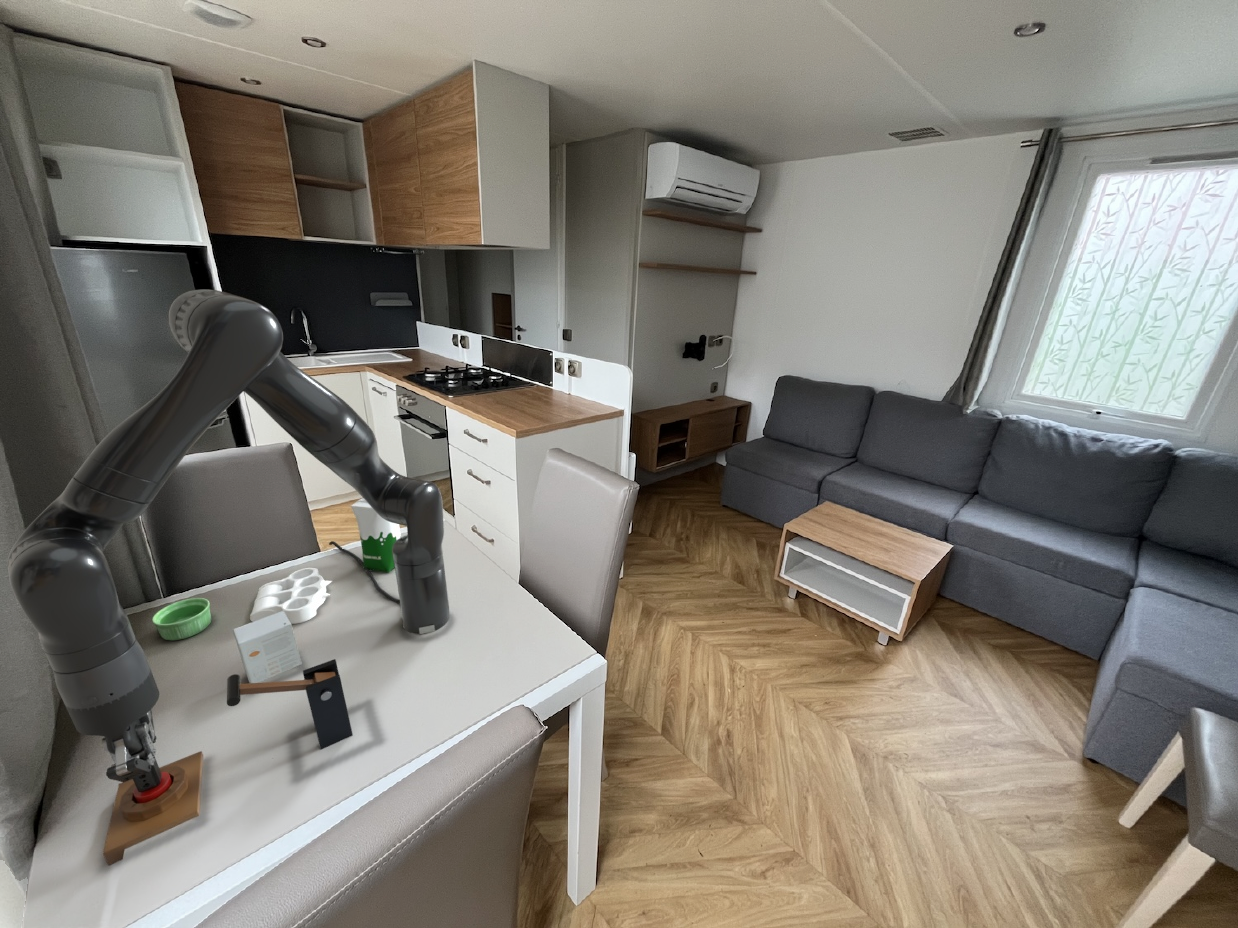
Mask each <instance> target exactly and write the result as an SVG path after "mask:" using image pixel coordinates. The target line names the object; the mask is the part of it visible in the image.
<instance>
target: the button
mask: <svg viewBox="0 0 1238 928" xmlns="http://www.w3.org/2000/svg"><path fill="white" fill-rule="evenodd" d="M161 774H162V776H161V782H160V785H158V786H157V787H154V788H152V789H150V790H147V791H145V792H138V790H137V788H135V790H134V796H135V799H136V801H137V803H147V802H149V801H151V800H154V799H156V798H158V797H159V796H160V795H162V794H163V793H165V792H166V791H167V790H168V789H169V787H170V786H171V785H172V784H173V783H172V780H171V778H170V775H169V774H168V773H167V772H161Z"/></svg>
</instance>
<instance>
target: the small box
mask: <svg viewBox="0 0 1238 928" xmlns="http://www.w3.org/2000/svg"><path fill="white" fill-rule="evenodd" d="M232 631H233V635H234V639H235V642H236V646H237V649H238V652H239V655H240V658H241V661H242V665H243V669H244V672H245V674H246V677H247V680H248V682H249V683H263V682H264V681H267V680H269V679H270V678H273V677H275V676H278V675H280V674H282V673H284V672H287V671H290V670H292V669H294V668H296V667H298V666H301V665H303V662H302V659H301V655H300V652H299V648H298V644H297V640H296V636H295V632H294V628H293V624H291V623H290V621H289V619H288V618H287V616H286V614H285V612H284V611H281V612H278V613H276V614H273V615H270V616H267V617H265V618H262V619H259V620H257V621H254V622H252V621H251V622H249V623H246V624H244V625H241V626H238V627H235V628H233V629H232Z"/></svg>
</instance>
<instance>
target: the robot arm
mask: <svg viewBox="0 0 1238 928" xmlns="http://www.w3.org/2000/svg"><path fill="white" fill-rule="evenodd" d="M168 325H169V329H170V332H171V334H172V336H173V337H174V340H175V341H176V342H177V343H178V344H179V346H180V347H181V348H182V349H183V350H184V351H185V352H186V353H187V355H186V356H185V359H184V360H183V362H182V365H181V366H180V368H179V369H178V370H177V372H176V374H174V376H173V377H172V378H171V379H170V381H169V382H168V383H167V384H166V385H165V386H164V387H163V388H162V389H161V390H160V391H159V392H158V393H156V395H155V396H154V397H153V398H151V399H150V400H149V401H147V402H146V403H145V404H144V405H142V406H141V407H140V408H139V409H137V410H136V411H135V412H133V413H132V414H130V415H129V416H128V417H126V418H125V419H124V420H122V421H121V422H120V423H119V424H117V425H116V426H115V427H114V428H113V429H112V430H110V431H109V432H108V434H106V435H105V436H104V437H103V439H101V441H100V442H99V443H98V444H97V445H96V447H94V449H93V450H92V452H91V453H90V454H89V455H88V456H87V457H86V459H85V460H84V462H83V464H81V466H80V467H79V469H78V470H77V471H76V472H75V474H74V475H73V476H72V477H71V479H70V481H69V482H68V484H67V485H66V487H65V488H64V490H63V492H62V493H61V494H60V495H59V496H58V497H57V498H56V499H55V500H53V501H52V502H51V503H50V504H49V505H48V506H47V507H46V508H45V509H43V510H42V512H41V513H40V514H39V515H38V516H37V517H36V518H35V519H33V520H32V522H31V523H30V524H29V525H28V526H27V527H26V528H25V529H24V531H23V532H22V533H21V534H20V536H19V537H18V538H17V540H16V541H15V542H14V544H13V545H12V547H11V549H10V551H9V553H8V556H7V560H6V561H7V572H8V579H9V580H8V581H9V584H10V585H9V586H10V587H11V590H12V592H13V595H14V596H15V599H16V601H17V602H18V604H19V606H20V608H21V609H22V611H23V613H24V614H25V616H26V617H27V619H28V621H29V622H30V624H31V625H32V626H33V628H34V629H35V630H36V632H37V633H38V638H39V642H40V645H41V648H42V650H43V653H44V654H45V656H46V659H47V661H48V663H49V665H50V668H51V669H52V672H53V676H54V681H55V687H56V688H57V691H58V693H59V696H60V697H61V698H60V699H61V700H62V702H63V704H64V706H65V708H66V710H67V713H68V714H69V717H70V719H71V721H72V723H73V725H74V727H75V730H76V731H77V733H79V734H81V735H83V736H98V737H101V745H102V748H103V749H104V751H105V752H108V753H109V755H110V757H111V759H112V761H113V764H111V765H110V766H109V767H107V768H106V772H105V776H106V777H107V779H109V780H113V781H116V782H120V783H122V782H126V781H129V780H131V779H133V781H134V783H135V785H136V788H137V790H138V792H145V791H147V790H150V789H152V788H154V787H157V786H158V785H160V782H161V776H162V774H161V771H160V769H159V768H160V766H159V764H158V762H157V759H156V755H157V749H156V748H155V743H157V735H156V731H155V725H154V719H153V718H154V717H153V712H152V709H153V708H154V707H155V706H156V704H157V703H158V701H159V699H160V691H159V687H158V685H157V682H156V679H155V677H154V675H153V672H152V669H151V666H150V664H149V661H148V658H147V656H146V653H145V651H144V649H143V648H142V646H141V644H140V643H139V641H138V640H137V637H136V635H135V633H134V630H133V627H132V624H131V621H130V619H129V617H128V614H127V612H126V611H125V610H124V607H123V606H122V605H121V603H120V602H119V597H118V593H117V588H116V585H115V581H114V579H113V575H112V574H113V573H112V572H111V568H110V566H109V565H110V564H109V562H108V560H107V557H106V556H105V555H106V554H105V553H104V552H105V550H106V548H107V546H108V545H109V543H110V542H112V539H113V538H114V537H115V536H116V535H117V534H118V532H119V531H120V530H121V528H122V527H123V526H124V525H125V524H129V523H130V524H131V523H132V522H134V521H136V520H137V519H139V518H140V517H141V516H142V515H143V514H144V513H145V511H146V510H147V509H148V508H149V506H150V505H151V503H152V502H153V501H154V499H155V498H156V496H157V495H158V494H159V492H160V491H161V490H162V488H163V487H164V485H165V484H166V482H168V479H170V477H171V475H172V474H173V473H174V471H175V470H176V468H177V467H178V466H179V464H180V463H181V462H182V460H183V459H184V458H185V456H186V455H187V454H188V453H189V451H190V450H191V449H192V448H193V446H194V445H195V444H196V443H197V442H198V440H200V439H201V437H202V436H203V435H204V434H205V433H206V431H207V430H209V428H210V427H211V426H212V425H213V424H214V423H215V421H216V420H217V419H218V418H219V417H221V415H222V414H223V413H224V412H225V411H226V410H227V409H228V408H229V407H230V406H231V404H233V403H234V402H235V401H236V399H238V398H239V396H240V395H241V394H243V392H244V393H245V394H246V395H247V396H249V397H250V398H251V399H252V400H253V401H254V402H255V403H256V404H257V405H258V406H259V407H260V408H261V409H262V410H263V411H264V412H265V413H266V414H267V415H268V416H269V417H270V418H271V419H272V420H273V421H274V422H276V424H278V426H279V427H280V428H282V429H283V430H284V431H285V433H287V434H288V435H289V436H290V437H291V438H292V439H293V440H294V441H296V443H298V444H299V445H300V447H302V448H303V449H305V451H307V452H308V453H309V454H310V455H311V456H313V457H314V458H315V459H316V460H317V461H319V462H320V463H321V464H322V465H324V466H325V467H327V468H328V469H329V470H330V471H331V472H333V474H335V475H336V476H338V477H339V478H340V479H341V480H343V481H344V482H345V483H346V484H347V485H349V486H351V487H352V488H353V489H354V490H355V491H356V492H357V493H358V494H359V495H360V496H361V497H362V498H364V499H365V500H366V502H367V503H368V504H369V505H370V506H371V507H372V508H373V509H374V511H375V512H376V513H377V514H378V515H379V516H381V517H382V518H383V519H385V520H387V521H389V522H392V523H396V524H399V526H400V525H401V526H406V530H407V531H406V532H407V534H405V535H403V536H401V538H399V539H398V540H396V541H395V543H394V544H393V546H392V554H393V560H394V571H395V577H396V584H397V590H398V598H396V597H394V596H392V595H391V594H389V593H387V592H386V591H385V590H384V589H382V588H381V587H380V585H379V583H378V582H377V580H376V579H375V577H374V576H373V574H372V572H371V570H369V569H368V568H367V567H365V568H364V566H363V559H361V558H360V557H359V556H357V555H356V554H354V552H351V551H349V550H347V549H346V548H344V549H342V548H343V547H342V546H341V545H339V544H338V543H337V542H336V541H334V540H331V541H330V542H329V543H328V545H329V546H334V547H336V549H338V550H339V551H341V552H342V553H345V554H347V555H348V556H350V557H352V558H353V559H355V560H356V561H357V562H358V563H359V564H360V565H361V566H362V568H363V570H364V569H365V570H364V571H365V572H366V573H367V575H368V578H369V579H370V580H371V582H372V584H373V586H374V587H375V589H376V590H377V591H378V592H379V593H380V594H382V595H383V596H384V597H385V598H387V599H388V600H390V601H392V602H395V603H397V604H399V605H400V611H401V616H402V617H401V618H402V623H403V625H402V627H403V628H404V629H405V631H406V632H409V633H411V634H415V635H423V634H424V635H425V634H430V633H433V632H436V631H437V630H440V629H441V628H443V627H444V626H445V625H446V624H448V622H449V620H450V618H451V614H450V612H451V611H450V604H449V603H450V602H449V595H448V586H447V578H446V569H445V561H444V560H445V559H444V553H443V552H444V551H443V542H444V536H445V523H444V522H445V521H444V505H443V504H444V503H443V497H442V493H441V489H440V488H439V487H438V485H437V484H436V483H434V482H433V481H430V480H426V479H420V478H416V477H409V476H406V475H402V474H400V473H398V472H397V471H396V470H394V469H393V468H391V467H390V466H389V465H388V464H387V462H385V461H384V460H383V459H382V458H381V456H380V455H379V447H378V442H377V437H376V435H375V433H374V431H373V430H372V428H371V427H370V426H369V425H368V423H367V422H366V421H365V420H364V419H363V418H362V417H361V416H360V414H358V413H357V412H356V410H354V408H353V407H352V406H351V405H350V404H348V403H347V402H346V401H345V400H343V399H342V398H341V397H340V396H339V395H338V394H336V393H334V392H333V391H332V390H331V389H329V388H328V387H326V386H325V385H324V384H322V383H321V382H319V381H318V380H317V379H315V378H314V377H312V376H310V375H309V374H307V373H306V372H304V371H303V370H302V369H301V368H300V367H298V366H296V365H295V363H293V362H292V361H291V360H289V358H288V357H287V356H285V355H284V354H283V352H281V350H282V348H283V342H284V332H283V328H282V325H281V323H280V321H279V320H278V317H276V315H275V314H274V313H273V312H272V311H271V310H270V309H269V308H267V307H266V306H264V305H262V304H261V303H259V302H256V301H254V300H252V299H248V298H245V297H243V296H240V295H236V294H233V293H229V292H226V291H223V290H222V291H221V290H217V289H204V288H203V289H194V290H189V291H185V292H183V293H181V294H180V295H178V296H177V297H176V298H175V299H174V300H173V302H172V303H171V305H170V306H169V311H168Z"/></svg>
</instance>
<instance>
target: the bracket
mask: <svg viewBox="0 0 1238 928" xmlns="http://www.w3.org/2000/svg"><path fill="white" fill-rule="evenodd" d="M323 672H335V675H336V676H333V677H331V678H328V679H325V680H323V681H320V682H317V683H315V684H312V685H309V686H307V687H306V690H305V692H306V697H307V700H308V701H307V702H308V704H309V709H310V713H311V717H312V721H313V724H314V729H315V732H316V736H317V740H318V744H319V748H320V749H319V750H324V749H326V748H328V747H331V746H333V745H335V744H337V743H339V742H341V741H344V740H346V739H348V738H351V737H352V736H354V735H353V734H354V733H353V730H352V725H351V722H350V716H349V712H348V707H347V701H346V697H345V693H344V689H343V684H342V679H341V675H340V673H339V669H338V664H337V660H336V659H335V658H334V659H332V660H331V659H330V660H327V661H324V662H323V663H320V664H317V665H314V666H311V667H308V668H305V669H303V670H302V675H303V680H310V679H313V676H314V674H315V673H323Z"/></svg>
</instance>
